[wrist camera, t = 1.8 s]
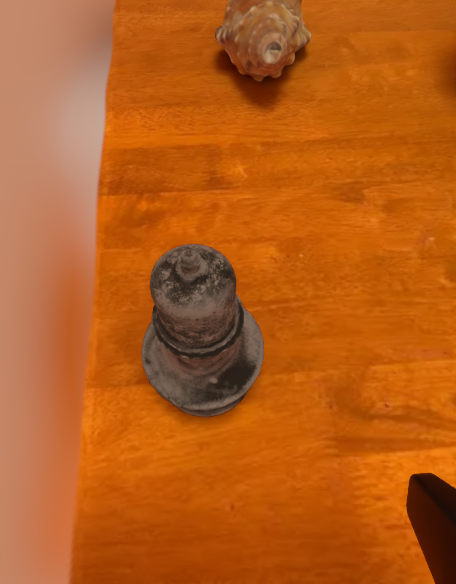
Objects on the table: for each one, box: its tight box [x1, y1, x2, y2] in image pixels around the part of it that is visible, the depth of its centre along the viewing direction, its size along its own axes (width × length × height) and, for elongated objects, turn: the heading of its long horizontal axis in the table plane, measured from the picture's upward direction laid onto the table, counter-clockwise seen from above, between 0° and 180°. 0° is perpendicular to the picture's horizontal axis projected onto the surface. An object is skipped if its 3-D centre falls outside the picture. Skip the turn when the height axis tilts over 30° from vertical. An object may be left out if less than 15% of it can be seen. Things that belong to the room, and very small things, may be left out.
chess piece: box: [141, 244, 264, 417], centre depth 17 cm, size 6×6×12 cm
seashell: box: [215, 0, 311, 81], centre depth 32 cm, size 9×8×10 cm
